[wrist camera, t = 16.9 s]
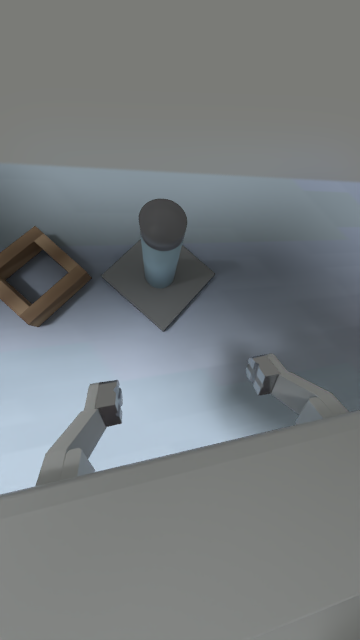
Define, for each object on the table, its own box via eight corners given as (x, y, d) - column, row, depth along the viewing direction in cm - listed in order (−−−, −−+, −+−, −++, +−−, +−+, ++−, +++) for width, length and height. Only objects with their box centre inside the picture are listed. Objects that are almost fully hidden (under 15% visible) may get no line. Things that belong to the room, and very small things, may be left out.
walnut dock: (-13, 280, 25) (-28, 273, 23) (43, 235, 27) (34, 225, 25) (38, 327, 25) (28, 324, 23) (91, 278, 27) (86, 272, 25)
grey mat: (102, 278, 27) (101, 275, 26) (157, 227, 29) (157, 223, 29) (163, 331, 27) (163, 330, 26) (213, 275, 29) (215, 273, 28)
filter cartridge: (138, 275, 27) (128, 218, 16) (158, 255, 28) (161, 190, 17) (160, 294, 27) (165, 250, 16) (180, 274, 28) (196, 220, 17)
